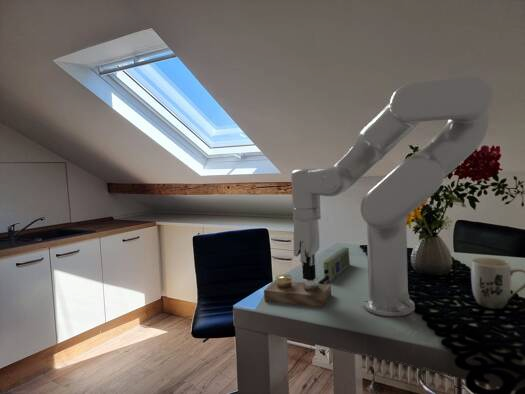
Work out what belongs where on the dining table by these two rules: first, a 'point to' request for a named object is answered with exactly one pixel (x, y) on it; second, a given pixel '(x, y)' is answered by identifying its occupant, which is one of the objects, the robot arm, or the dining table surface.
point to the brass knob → (284, 281)
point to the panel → (298, 294)
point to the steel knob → (311, 284)
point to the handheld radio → (335, 264)
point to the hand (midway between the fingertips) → (309, 278)
